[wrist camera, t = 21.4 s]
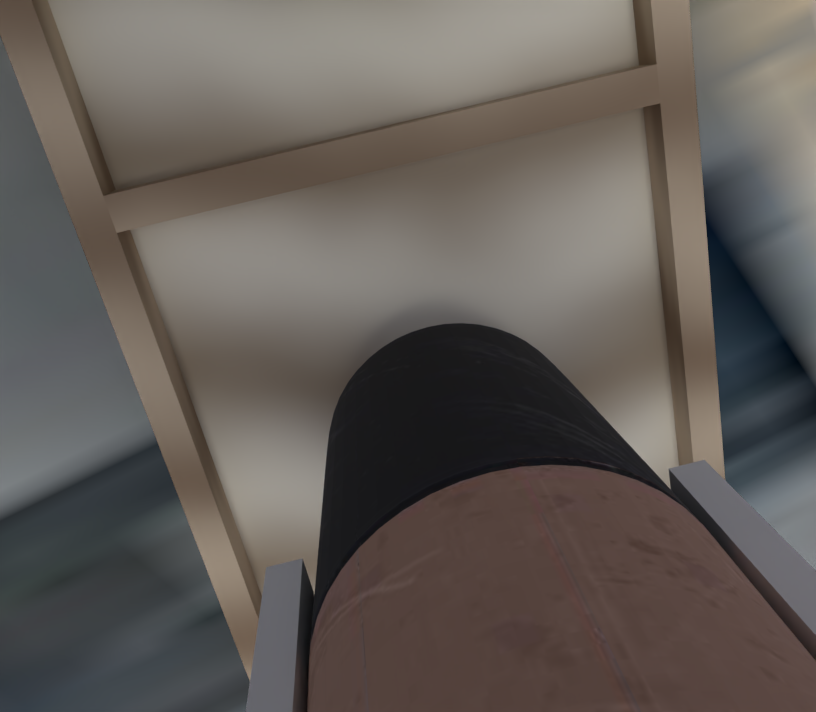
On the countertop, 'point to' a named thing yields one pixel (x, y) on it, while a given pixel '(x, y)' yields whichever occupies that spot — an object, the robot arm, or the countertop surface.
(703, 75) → the countertop surface
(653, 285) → the two-bay tray
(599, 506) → the travel mug
